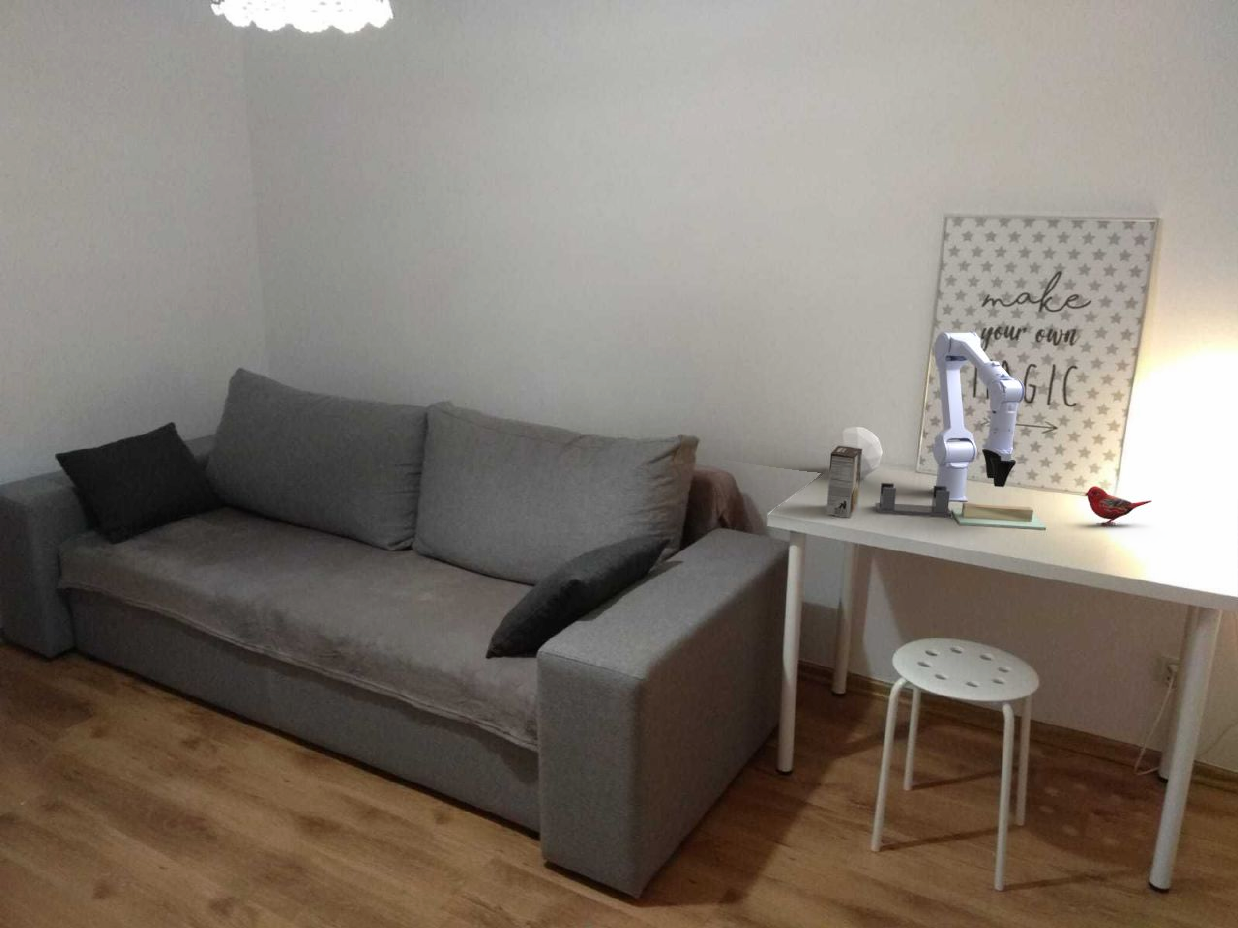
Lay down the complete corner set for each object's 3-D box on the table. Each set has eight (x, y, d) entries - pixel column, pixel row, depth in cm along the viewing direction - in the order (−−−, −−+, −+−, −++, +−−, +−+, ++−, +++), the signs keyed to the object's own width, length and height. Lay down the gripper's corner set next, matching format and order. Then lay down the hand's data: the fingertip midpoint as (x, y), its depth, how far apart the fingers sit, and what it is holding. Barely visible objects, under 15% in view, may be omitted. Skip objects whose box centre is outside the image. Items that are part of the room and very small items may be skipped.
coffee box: (833, 505, 245) (837, 445, 241) (858, 509, 242) (863, 448, 238) (824, 515, 237) (829, 452, 233) (850, 518, 234) (855, 455, 230)
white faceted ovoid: (893, 464, 260) (883, 476, 280) (874, 413, 263) (866, 429, 283) (842, 480, 261) (836, 491, 281) (824, 430, 265) (819, 444, 284)
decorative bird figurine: (1076, 523, 234) (1082, 484, 231) (1144, 522, 235) (1150, 484, 233) (1083, 527, 231) (1089, 488, 228) (1151, 526, 232) (1158, 487, 230)
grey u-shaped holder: (875, 506, 245) (877, 482, 243) (947, 510, 242) (949, 486, 241) (877, 513, 239) (879, 488, 238) (951, 517, 237) (954, 492, 235)
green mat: (951, 511, 242) (951, 509, 242) (1033, 516, 239) (1033, 513, 239) (959, 524, 231) (960, 522, 231) (1045, 529, 228) (1046, 527, 228)
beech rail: (961, 514, 238) (962, 502, 237) (1028, 518, 235) (1029, 506, 235) (963, 517, 235) (965, 506, 234) (1031, 521, 233) (1033, 510, 232)
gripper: (978, 421, 238) (972, 473, 241) (991, 434, 224) (985, 489, 228) (1007, 423, 237) (1001, 475, 241) (1022, 436, 223) (1015, 491, 227)
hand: (995, 482), depth 234 cm, fingers open, 7 cm apart
